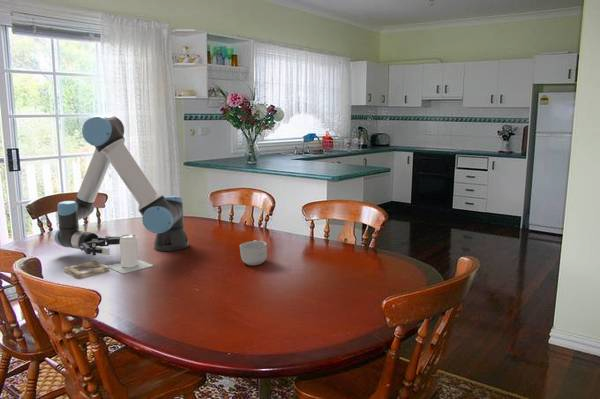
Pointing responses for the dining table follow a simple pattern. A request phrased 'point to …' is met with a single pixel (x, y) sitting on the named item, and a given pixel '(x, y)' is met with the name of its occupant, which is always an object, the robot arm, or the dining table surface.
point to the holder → (99, 269)
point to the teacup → (253, 252)
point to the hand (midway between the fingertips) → (122, 247)
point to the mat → (126, 270)
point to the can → (128, 251)
